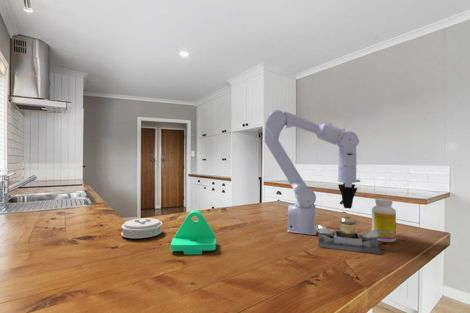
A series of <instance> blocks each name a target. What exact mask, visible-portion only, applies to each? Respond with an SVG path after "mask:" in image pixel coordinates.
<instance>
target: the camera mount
mask: <svg viewBox="0 0 470 313" xmlns="http://www.w3.org/2000/svg"><path fill="white" fill-rule="evenodd" d="M193 217H196V218H197V220H193ZM182 222H183V223H182V224H181V225H180V227H179V229H178V230H177V232H176V233H175V234H174V236H173V238H172V241H171V242H170V251H171V252H183V254H184V255H203V251H214V250H217V249H216V246H217V242H216V240H217V238H216V234H215V233H214V231H213V229H212V228H211V226H210V224H209V222H208V221H207V220H206V218H205V216H204V214H203V213H202V212H201V211H200V210H197V209H193V210H191V211H190V212H189V213H188V214H187V216H186V217H185V219H184V221H182Z"/></svg>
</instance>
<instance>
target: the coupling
mask: <svg viewBox="0 0 470 313" xmlns="http://www.w3.org/2000/svg"><path fill="white" fill-rule="evenodd" d="M339 223H340V226H339V227H340V229H339V231H340V237H346V238H355V233H356V218H355V217H351V216H340V218H339Z"/></svg>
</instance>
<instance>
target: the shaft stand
mask: <svg viewBox="0 0 470 313" xmlns="http://www.w3.org/2000/svg"><path fill="white" fill-rule="evenodd" d="M316 228H317V231H316V233H318V242H317V243H318V248H324V249H332V250H339V251H347V252H349V251H350V252H357V253H363V254H365V253H366V254H373V255H381V254H382V250H381V249H380V247H379V241H378V240H377V239H379V238H380V235H379V233H378V231H377V230H373V231H372V230H369V231H365V232H355V238H346V237H340V230H333V229H331V228H328V227H327V226H325V225H322V224H318V225H317V227H316Z"/></svg>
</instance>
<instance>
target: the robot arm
mask: <svg viewBox="0 0 470 313" xmlns="http://www.w3.org/2000/svg"><path fill="white" fill-rule="evenodd" d="M264 127H265V128H264V129H265V130H264V144H266V146H267V149H269V151H270V152H271V154H272V156H273V158H274V160H275V161H276V163H277V164H278V166H279V167H280V169H281V171H282V173H283V174H284V177H286V179H287V181H288V183H289V184H290V185H291V187H292V189H293V190H294V197H295V199H296V202H294V204H291V205H290V204H289V205H288V209H287V233H294V234H300V235H301V234H302V235H313V236H316V235H317V232H316V231H317V228H318V227H316V204H315V203H316V200H317V196H316V193H315V192H314V190H312V189H311V188H310V187H309V186H307V184H306V183H305V180H303V179H304V178H302V176H301V175H300V172H298V170H297V168H296V167H295V165H294V163H293V161H292V160H291V158H290V157H289V155H288V154H287V152H286V150H285V149H284V146H283V145H282V144H281V142H280V140H279V138H280V136H281V133H282V131H283V129H284V128H286V129H288V128H293V127H295V128H298V129H302V130H304V131H307V132H310V133H313V134H315V135H316V136H317V139H318V140H321V141H324V142H327V143H330V144H332V145H335V146H337V147H338V158H337V159H338V160H337V161H338V163H337V164H338V167H337V170H338V171H337V173H338V174H337V175H338V176H337V178H338V179H337V182H339V184H337V186H338V189H339V191H340V194H341V200H342V204H343V208H344V209H352V208H353V200H354V197H355V195H356V193H357V190H358V187H356V184H355V183H361V179H357V146H358V145H359V143H360V139H359V137H358V135H357V133H355V132H354V131H346V129H345V128H340V127H337V126H334V125H332V123H331V122H327V123H326V122H323V123H321V124H318V123H316V122H313V121H311V120H308V119H305V118H302V117H300V116H297V115H296V114H293V113H290V112H287V111H284V112H283V111H282V110H279V109H273V110H272V111H269V114H268V116H267V118H266V120H265V126H264ZM341 183H342V184H341Z"/></svg>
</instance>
